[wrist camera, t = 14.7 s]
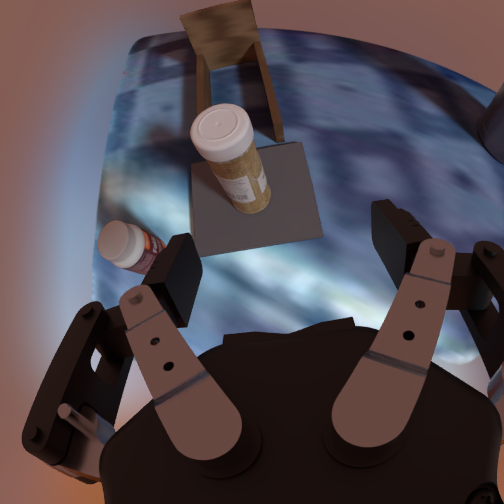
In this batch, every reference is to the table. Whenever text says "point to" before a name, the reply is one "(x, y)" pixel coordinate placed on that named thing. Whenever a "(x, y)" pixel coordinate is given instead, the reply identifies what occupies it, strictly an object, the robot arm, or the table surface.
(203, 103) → the shelf lane
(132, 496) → the robot arm
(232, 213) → the rubber mat
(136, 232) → the pill bottle
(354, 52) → the table surface
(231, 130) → the sprinkles bottle
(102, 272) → the table surface
